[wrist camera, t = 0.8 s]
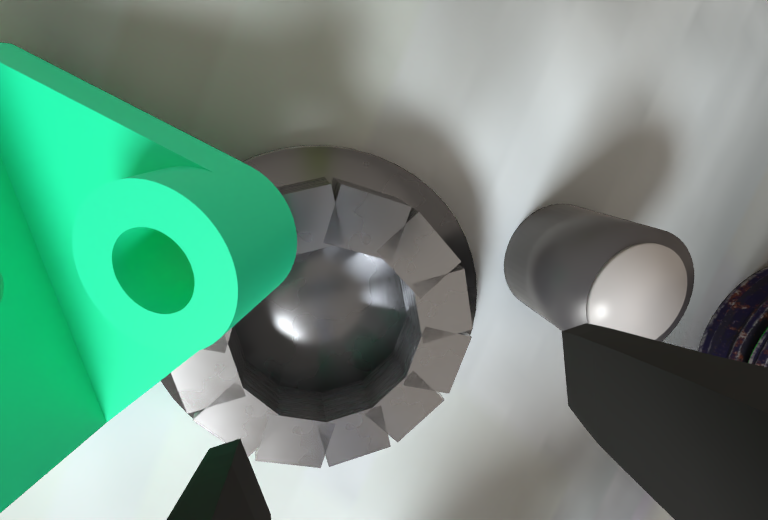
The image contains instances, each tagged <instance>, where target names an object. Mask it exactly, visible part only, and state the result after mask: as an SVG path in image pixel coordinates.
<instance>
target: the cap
mask: <svg viewBox="0 0 768 520" xmlns="http://www.w3.org/2000/svg"><path fill="white" fill-rule="evenodd" d="M504 273H505V278H506V281H507V284H508V286H509V288H510V290H511V292H512V293H513V295H514V296H515V297H516V298H517V299H519V300H520V301H521V302H523V303H524V304H525V305H527V306H528V307H530V308H531V309H532V310H534V311H535V312H536V313H538V314H539V315H541V316H542V317H543V318H545V319H546V320H548V321H549V322H550V323H552V324H553V325H555V326H556V327H557V328H559V329H560V330H562V331H564V330H567V329H570V328H573V327H576V326H579V325H582V324H585V323H588V324H593V325H598V326H603V327H607V328H611V329H615V330H619V331H623V332H627V333H630V334H634V335H638V336H642V337H645V338H649V339H653V340H656V341H660V342H662V341H663V340H664V339H665V338H666V337H667V336H668V335H669V334H670V333H671V332H672V331H673V329H674V328H675V327H676V326H677V324H678V323H679V321H680V320H681V318H682V316H683V315H684V313H685V311H686V309H687V306H688V304H689V301H690V298H691V295H692V290H693V284H694V268H693V262H692V258H691V255H690V253H689V251H688V249H687V248H686V246H685V245H684V243H683V242H682V241H681V240H680V239H679V238H677V237H676V236H675V235H673V234H671V233H669V232H667V231H664V230H660V229H657V228H653V227H649V226H646V225H642V224H639V223H635V222H631V221H628V220H624V219H621V218H617V217H613V216H610V215H606V214H602V213H599V212H595V211H592V210H588V209H584V208H581V207H577V206H573V205H570V204H555V205H550V206H547V207H544V208H542V209H539V210H537V211H536V212H534V213H533V214H531V215H530V216H529V217H527V218H526V219H525V220H524V221H523V222H522V223H521V224H520V225H519V227H518V228H517V229H516V231H515V232H514V234H513V235H512V237H511V239H510V241H509V244H508V246H507V249H506V253H505V259H504Z"/></svg>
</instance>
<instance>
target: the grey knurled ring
mask: <svg viewBox="0 0 768 520" xmlns="http://www.w3.org/2000/svg"><path fill="white" fill-rule="evenodd" d="M243 163H245V164H247V165H249V166H251V167H253V168H254V169H256V170H257V171H259V172H260V173H262V174H263V175H264V176H265V177H267V178H268V179H269V180H270V181H271V182H272V183H273V184H274V186H275V187H276V188H277V189H278V190H279V192H280V193H281V194H282V196H283V197H284V199H285V201H286V202H287V204H288V206H289V208H290V211H291V213H292V216H293V219H294V223H295V226H296V233H297V251H296V257H295V260H294V264H293V266H292V268H291V271H290V272H289V274H288V276H287V277H286V278H285V280H284V281H283V282H282V283H281V284H280V285H279V286H278V287H277V288H276V289H275V290H273V291H272V292H271V293H270V294H269V295H268V296H267V297H266V298H264V299H263V300H262V301H261V302H260V303H259V304H258V305H257V306H256V307H254V308H253V309H252V310H251V311H250V312H249V313H248V314H247V315H245V316H244V317H243V318H242V319H241V320H240V321H239V322H238V323H237V324H235V325H234V326H233V327H232V328H231V329H230V330H229V331H228V332H227V333H225V334H224V335H223V336H222V337H221V338H220V339H219V340H218V341H216V342H215V343H213V344H212V345H210V346H209V347H207V348H205V349H202V350H199V351H198V352H197V353H195V354H194V355H193V356H192V357H190V358H189V359H188V360H186V361H185V362H184V363H183V364H181V365H180V366H179V367H177V368H176V369H175V370H174V371H172V372H171V373H170V374H168V375H167V376H166V377H165V378H163V379H162V380H161V382H162V383H163V385H164V386H165V388H166V389H167V390H168V392H169V393H170V395H171V396H172V397H173V399H174V400H175V401H176V402H177V403H178V404H179V405H180V406H181V407H182V408H183V409H184V410H185V411H186V413H187V414H189V415H190V416H191V417H192V418H193V421H194V422H196V423H197V424H199V425H200V426H202V427H203V428H205V429H206V430H207V431H209V432H210V433H212V434H213V435H215V436H216V437H218V438H219V439H220V440H222V441H223V442H225V443H228V442H231V441H234V440H237V439H241V441H242V444H243V446H244V449H245V451H246V454H247V456H249V455H251V454H252V453H253V452H254V451H255V450H256V452H255V461H263V462H272V463H281V464H290V465H299V466H308V467H317V468H321V465H322V462H323V459H324V456H325V455H326V458H327V462H328V465H329V467H330V466H333V465H336V464H339V463H342V462H345V461H348V460H351V459H354V458H357V457H360V456H363V455H366V454H369V453H372V452H376V451H379V450H382V449H385V448H388V447H390V442H389V438H388V435H390V436H391V437H392V438H393V439H394V440H396V441H397V442H399V441H400V440H401V439H402V438H403V437H404V436H405V435H406V434H407V433H409V432H410V431H411V430H412V429H413V428H414V427H415V426H416V425H417V424H418V423H420V422H421V421H422V420H423V419H424V418H425V417H426V416H427V415H428V414H429V413H431V412H432V411H433V410H434V409H435V408H436V407H437V406H438V405H439V404H440V403H442V402H443V401H444V399H443V397H442V396H441V394H440V393H439V392H443V393H449V392H450V390H451V387H452V385H453V382H454V380H455V377H456V375H457V372H458V370H459V367H460V365H461V362H462V360H463V357H464V355H465V352H466V350H467V347H468V345H469V342H470V340H471V336H470V334H471V331H472V329H473V328H472V327H473V322H474V317H475V311H476V297H477V289H476V274H475V269H474V264H473V258H472V255H471V252H470V249H469V246H468V243H467V240H466V237H465V235H464V233H463V231H462V230H461V228H460V226H459V224H458V222H457V220H456V219H455V217H454V216H453V214H452V213H451V211H450V210H449V208H448V207H447V206H446V204H445V203H444V202H443V201H442V200H441V199H440V198H439V197H438V196H437V195H436V193H435V192H434V191H433V190H432V189H431V188H429V187H428V186H427V185H426V184H424V183H423V182H422V181H421V180H419V179H418V178H417V177H416V176H414V175H413V174H411V173H409V172H408V171H406V170H404V169H403V168H401V167H399V166H398V165H396V164H393V163H391V162H389V161H386V160H384V159H382V158H379V157H377V156H374V155H371V154H368V153H364V152H360V151H357V150H353V149H349V148H342V147H334V146H327V145H319V146H297V147H290V148H283V149H278V150H274V151H271V152H267V153H264V154H260V155H257V156H255V157H252V158H250V159H248V160H245V161H243Z"/></svg>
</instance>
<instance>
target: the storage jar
mask: <svg viewBox="0 0 768 520" xmlns="http://www.w3.org/2000/svg"><path fill="white" fill-rule="evenodd" d="M698 352H702V353H706V354H710V355H714V356H719V357H723V358H727V359H731V360H736V361H740V362H745V363H749V364H754V365H758V366H763V367H767V368H768V267H766V268H764V269H762V270H760V271H758V272H757V273H755V274H753V275H752V276H750V277H749V278H748V279H746V280H745V281H744V282H742V283H741V284H740V285H739V286H738V287H737V288H736V289H734V290H733V291H732V292H731V293H730V294H729V295H728V297H727V298H726V299H725V300H724V301H723V303H722V304H721V305H720V306H719V308H718V309H717V311H716V312H715V314H714V315H713V317H712V318H711V320H710V322H709V324H708V326H707V328H706V330H705V332H704V335H703V337H702V340H701V343H700V347H699V350H698Z"/></svg>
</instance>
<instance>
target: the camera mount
mask: <svg viewBox="0 0 768 520" xmlns="http://www.w3.org/2000/svg"><path fill="white" fill-rule="evenodd" d="M296 251H297V233H296V226H295V223H294V219H293V216H292V213H291V211H290V208H289V206H288V204H287V202H286V201H285V199H284V197H283V196H282V194H281V193H280V192H279V190H278V189H277V188H276V187H275V186H274V184H273V183H272V182H271V181H270V180H269V179H268V178H267V177H265V176H264V175H263V174H262V173H260V172H259V171H257V170H256V169H254V168H253V167H251V166H249V165H247V164H245V163H243V162H241V161H239V160H237V159H235V158H233V157H231V156H229V155H228V154H226V153H224V152H222V151H220V150H218V149H216V148H214V147H212V146H210V145H208V144H206V143H204V142H202V141H200V140H198V139H196V138H194V137H192V136H191V135H189V134H187V133H185V132H183V131H181V130H179V129H177V128H175V127H173V126H171V125H169V124H167V123H165V122H163V121H161V120H159V119H157V118H155V117H153V116H152V115H150V114H148V113H146V112H144V111H142V110H140V109H138V108H136V107H134V106H132V105H130V104H128V103H126V102H124V101H122V100H120V99H118V98H116V97H115V96H113V95H111V94H109V93H107V92H105V91H103V90H101V89H99V88H97V87H95V86H93V85H91V84H89V83H87V82H85V81H83V80H81V79H79V78H77V77H76V76H74V75H72V74H70V73H68V72H66V71H64V70H62V69H60V68H58V67H56V66H54V65H52V64H50V63H48V62H46V61H44V60H42V59H40V58H39V57H37V56H35V55H33V54H31V53H29V52H27V51H25V50H23V49H21V48H19V47H17V46H15V45H13V44H9V43H0V513H1V512H2V511H3V510H4V509H6V508H7V507H8V506H9V505H10V504H11V503H13V502H14V501H15V500H16V499H17V498H18V497H20V496H21V495H22V494H23V493H24V492H25V491H27V490H28V489H29V488H30V487H31V486H33V485H34V484H35V483H36V482H37V481H38V480H40V479H41V478H42V477H43V476H44V475H45V474H47V473H48V472H49V471H50V470H51V469H53V468H54V467H55V466H56V465H57V464H58V463H60V462H61V461H62V460H63V459H64V458H65V457H67V456H68V455H69V454H70V453H71V452H73V451H74V450H75V449H76V448H77V447H78V446H80V445H81V444H82V443H83V442H84V441H85V440H87V439H88V438H89V437H90V436H91V435H92V434H94V433H95V432H96V431H97V430H98V429H100V428H101V427H102V426H103V425H104V424H105V423H107V422H108V421H109V420H110V419H112V418H113V417H114V416H116V415H117V414H118V413H119V412H121V411H122V410H123V409H125V408H126V407H127V406H128V405H130V404H131V403H132V402H134V401H135V400H136V399H137V398H139V397H140V396H141V395H143V394H144V393H145V392H146V391H148V390H149V389H150V388H152V387H153V386H154V385H155V384H157V383H158V382H159V381H161V380H162V379H163V378H165V377H166V376H167V375H168V374H170V373H171V372H172V371H174V370H175V369H176V368H177V367H179V366H180V365H181V364H183V363H184V362H185V361H186V360H188V359H189V358H190V357H192V356H193V355H194V354H195V353H197V352H198V351H199V350H202V349H205V348H207V347H209V346H210V345H212V344H213V343H215V342H216V341H218V340H219V339H220V338H221V337H222V336H223V335H224V334H225V333H227V332H228V331H229V330H230V329H231V328H232V327H233V326H234V325H235V324H237V323H238V322H239V321H240V320H241V319H242V318H243V317H244V316H245V315H247V314H248V313H249V312H250V311H251V310H252V309H253V308H254V307H256V306H257V305H258V304H259V303H260V302H261V301H262V300H263V299H264V298H266V297H267V296H268V295H269V294H270V293H271V292H272V291H273V290H275V289H276V288H277V287H278V286H279V285H280V284H281V283H282V282H283V281H284V280H285V278H286V277H287V276H288V274H289V272H290V271H291V268H292V266H293V264H294V260H295V257H296Z"/></svg>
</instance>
